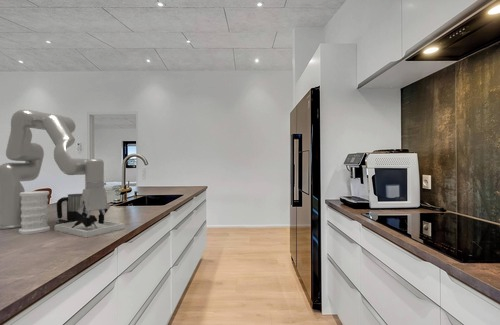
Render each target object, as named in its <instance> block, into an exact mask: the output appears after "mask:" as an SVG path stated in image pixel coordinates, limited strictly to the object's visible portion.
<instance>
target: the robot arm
mask: <svg viewBox="0 0 500 325" xmlns="http://www.w3.org/2000/svg"><path fill="white" fill-rule="evenodd" d="M31 129H37V130H44V131H46V133H47V134H48V136H49V137H50V139H51V141H52V143H53V144H54V146H55V147H54V150H53V159H54V161H55V163H56V165H57V167H58V168H59V170H60V171H61V172H62V173H63V174H65V175H67V176H79V175H84V178H85V179H84V180H85V182H84V183H85V184H84V185H85V186H84V189H82V193H81V194H82V198H81V206H80V208H79V209H78V210H77V212H79V213H80V214H81V215H82V216H83V217H85V226H91V218H90V217H89V216H90V215H91V213H92V212H94V211H95V212H96V211H97V212H98V216H97V217H98V218H97V219H98V223H100V224H104V220H105V215H106V214H107V212H108V210H110V208H111V205H110V204H109V203H108V198H107V192H106V187H105V186H107V182H105V176H104V175H105V172H104V170H105V169H104V167H105V166H104V165H105V162H104V160H103V159H101V158H72V157H71V155H70V153H69V152H68V150H67V148H70V147H71V146H72V145H73V144H74V143H75V142H76V139H75V137H74V135H73V133H74V132H75V130H76V123H75V121H74V120H73V119H72V118H71V117H68V116H63V115H58V114H51V113H46V112H42V111H38V110H31V109H19V110H17V111H15V112H14V113H13V114H12V115H11V119H10V132H9V136H8V141H7V145H6V150H5V156H6V158H7V159H8V160H10V161H15V162H6V163H2V164H1V165H0V230H5V229H6V230H7V229H15V228H16V229H17V228H22V225H21V221H22V218H21V214H22V211H21V207H22V204H21V200H22V196H20V193H21V192H26V191H25V187H24V186H23V184H22V183H21V182H30V181H34V180H36V179H37V178H38V177H39V176H40V175H39V174H40V171H41V168H42V164H43V160H44V156H45V151H44V148H43V147H42V145H41V144H39V143H37V142H36V143H35V142H32V140H33V134H32V130H31ZM83 210H84V211H85V212H83Z"/></svg>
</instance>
